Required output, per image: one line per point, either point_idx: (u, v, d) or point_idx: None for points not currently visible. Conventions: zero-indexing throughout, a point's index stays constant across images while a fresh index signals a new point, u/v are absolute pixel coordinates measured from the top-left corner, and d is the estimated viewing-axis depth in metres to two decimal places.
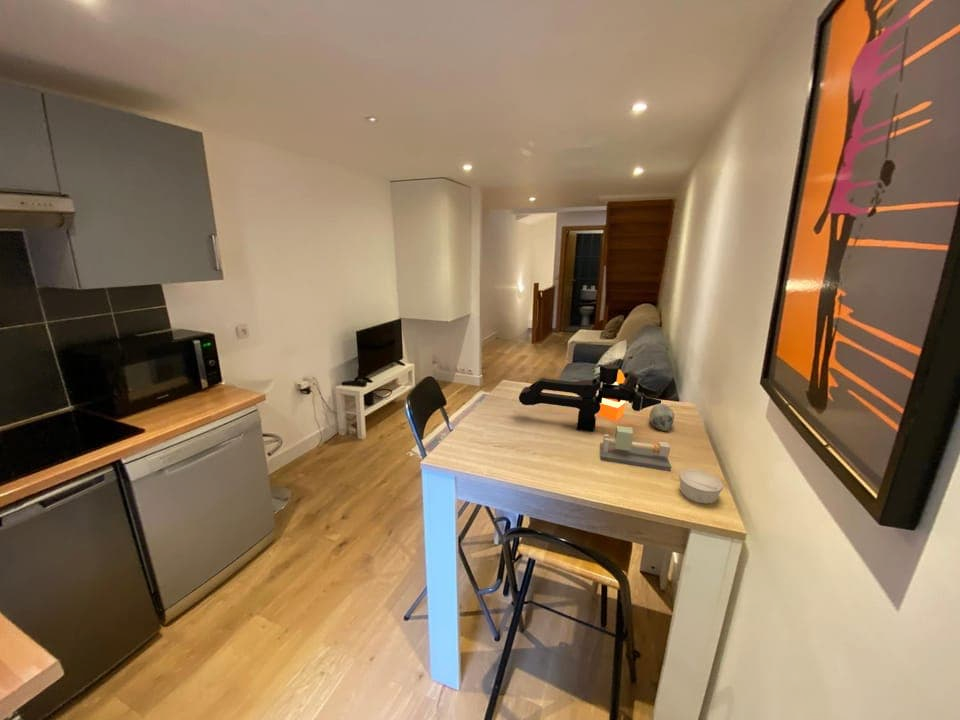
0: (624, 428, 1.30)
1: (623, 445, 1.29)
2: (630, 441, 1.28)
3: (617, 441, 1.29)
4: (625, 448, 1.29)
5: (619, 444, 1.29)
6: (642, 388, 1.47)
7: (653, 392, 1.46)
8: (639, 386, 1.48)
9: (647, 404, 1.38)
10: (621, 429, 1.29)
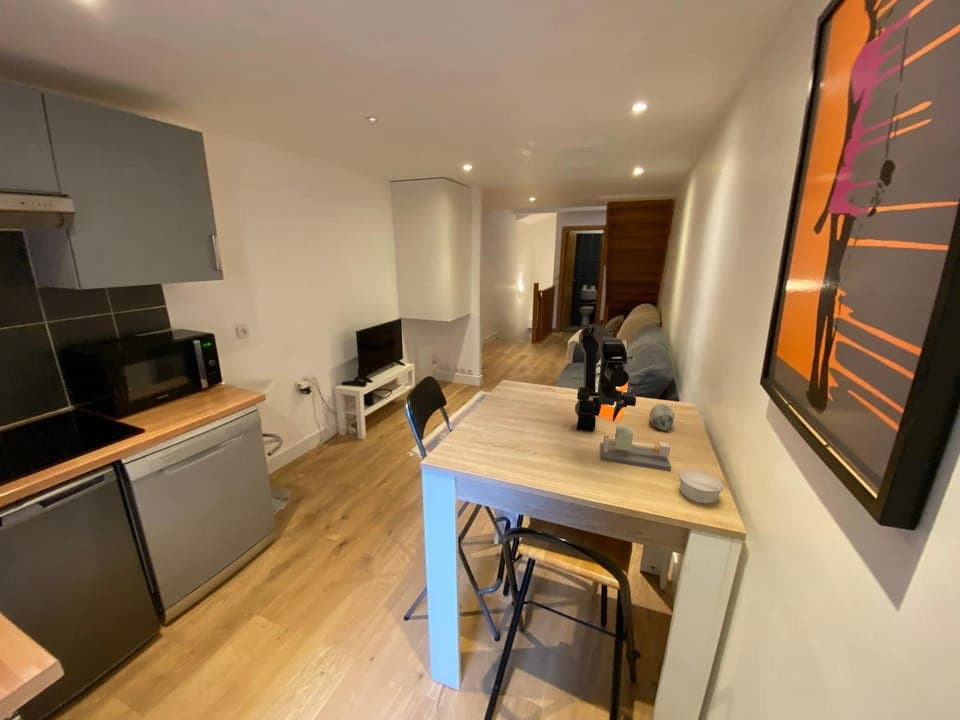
0: (624, 428, 1.30)
1: (623, 445, 1.29)
2: (630, 441, 1.28)
3: (617, 441, 1.29)
4: (625, 448, 1.29)
5: (619, 444, 1.29)
6: (616, 407, 1.27)
7: (613, 417, 1.29)
8: (617, 405, 1.26)
9: None
10: (621, 429, 1.29)
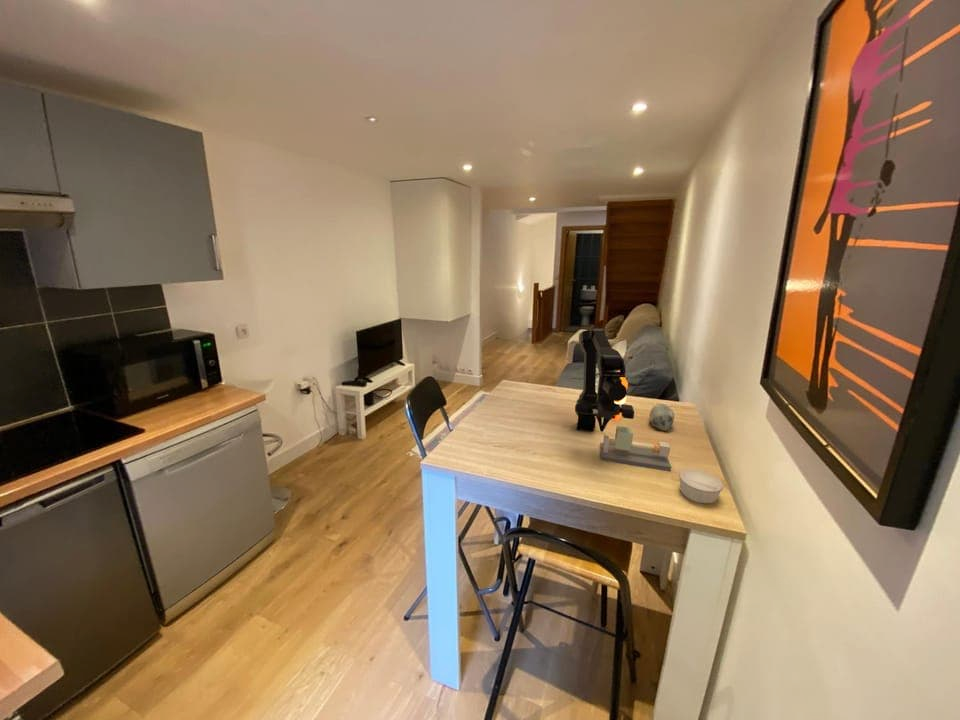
0: (624, 428, 1.30)
1: (623, 445, 1.29)
2: (630, 441, 1.28)
3: (617, 441, 1.29)
4: (625, 448, 1.29)
5: (619, 444, 1.29)
6: (605, 418, 1.29)
7: None
8: None
9: None
10: (621, 429, 1.29)
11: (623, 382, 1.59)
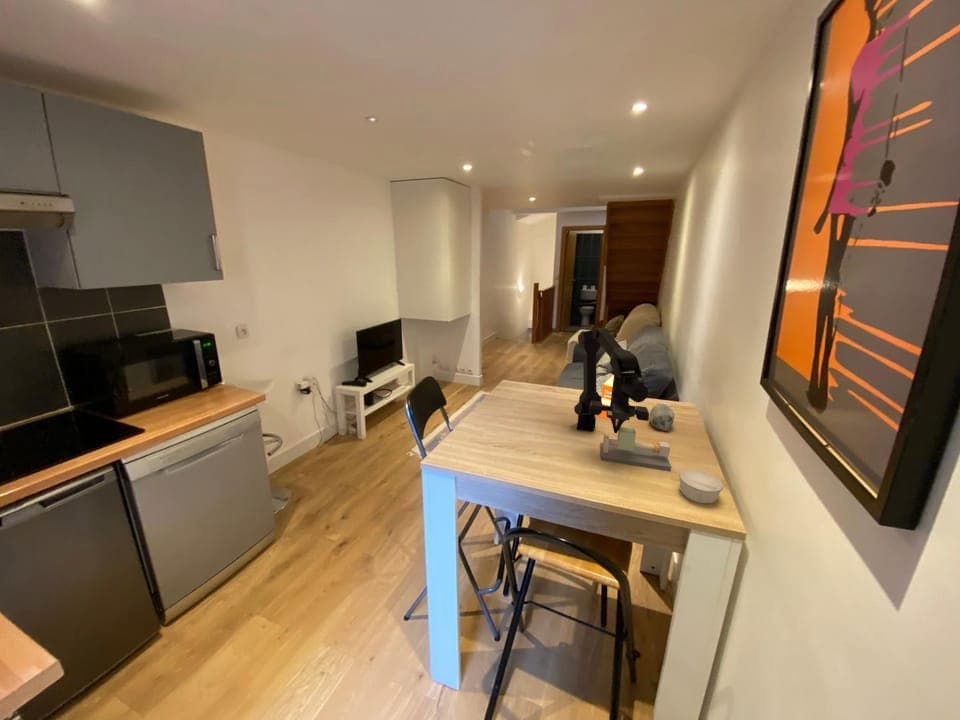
0: (627, 428, 1.30)
1: (626, 445, 1.28)
2: (633, 441, 1.27)
3: (620, 441, 1.29)
4: (627, 448, 1.29)
5: (622, 444, 1.29)
6: (619, 420, 1.28)
7: None
8: None
9: None
10: (624, 429, 1.29)
11: None
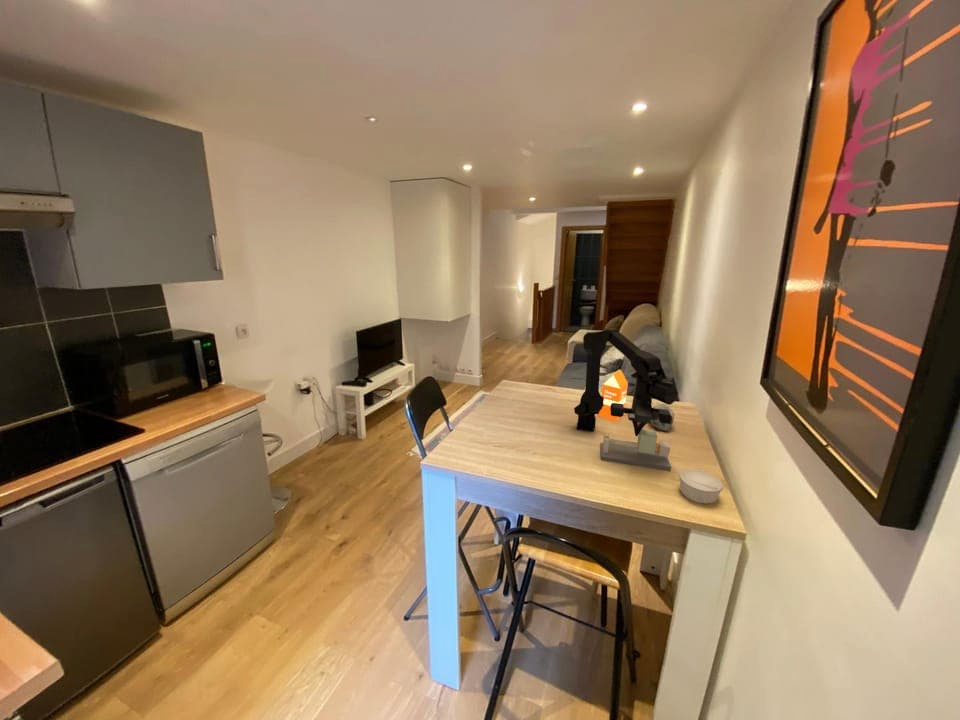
0: (647, 431, 1.28)
1: (647, 448, 1.27)
2: (654, 444, 1.26)
3: (640, 444, 1.27)
4: (648, 451, 1.27)
5: (642, 447, 1.27)
6: (640, 422, 1.26)
7: None
8: None
9: None
10: (645, 432, 1.28)
11: (623, 382, 1.59)
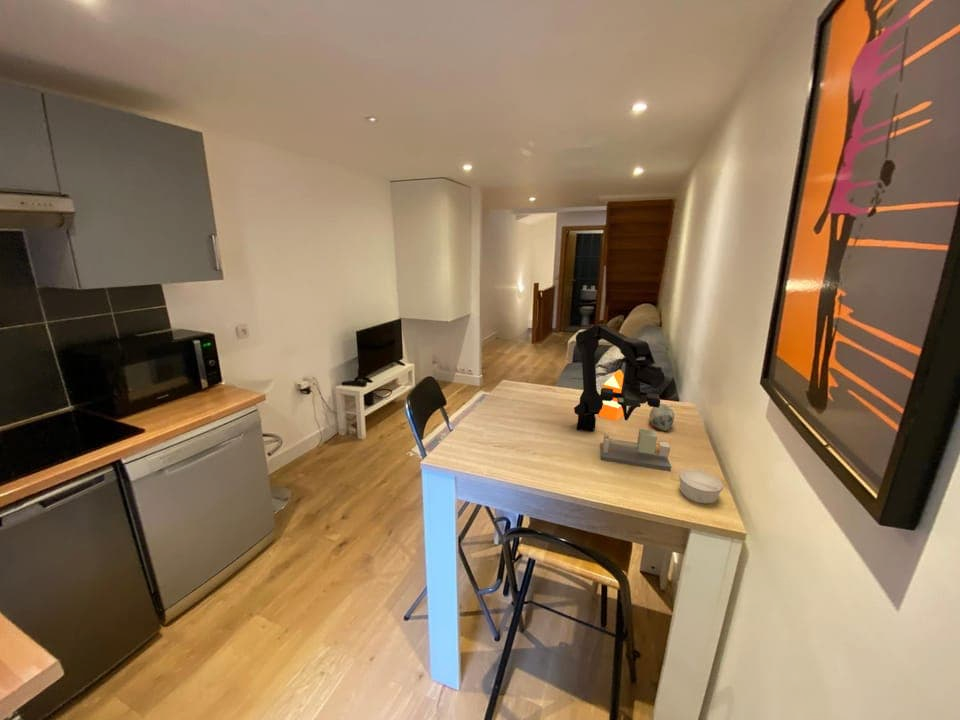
0: (647, 431, 1.28)
1: (646, 448, 1.27)
2: (654, 444, 1.26)
3: (640, 444, 1.27)
4: (648, 451, 1.27)
5: (642, 447, 1.27)
6: (629, 407, 1.29)
7: None
8: None
9: None
10: (645, 432, 1.28)
11: None
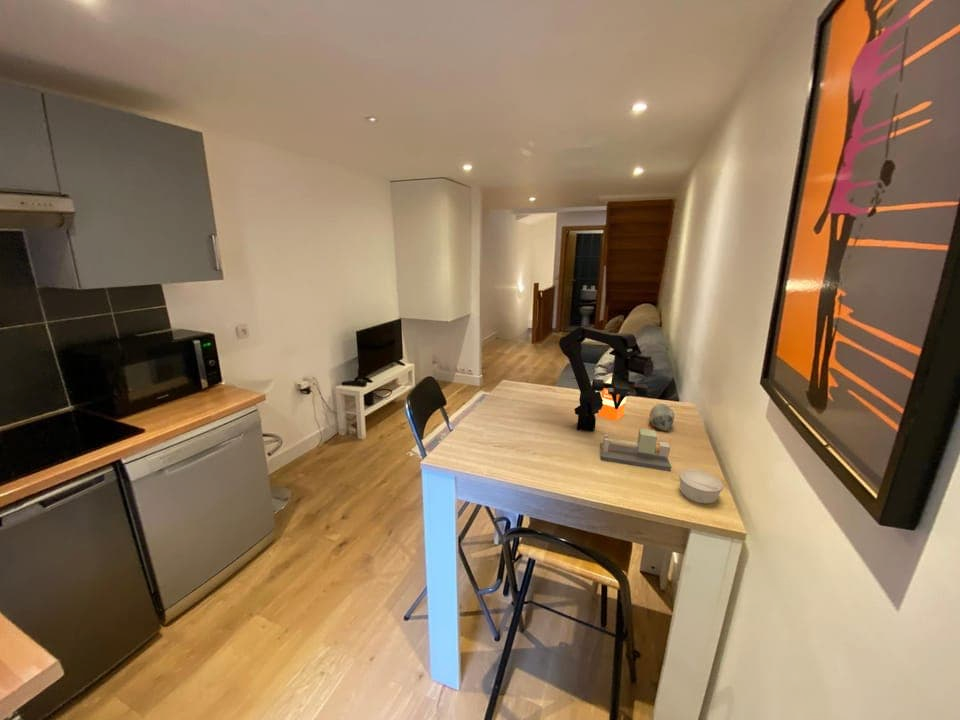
0: (647, 431, 1.28)
1: (646, 448, 1.27)
2: (654, 444, 1.26)
3: (640, 444, 1.27)
4: (648, 451, 1.27)
5: (642, 447, 1.27)
6: (619, 396, 1.37)
7: None
8: None
9: None
10: (645, 432, 1.28)
11: None
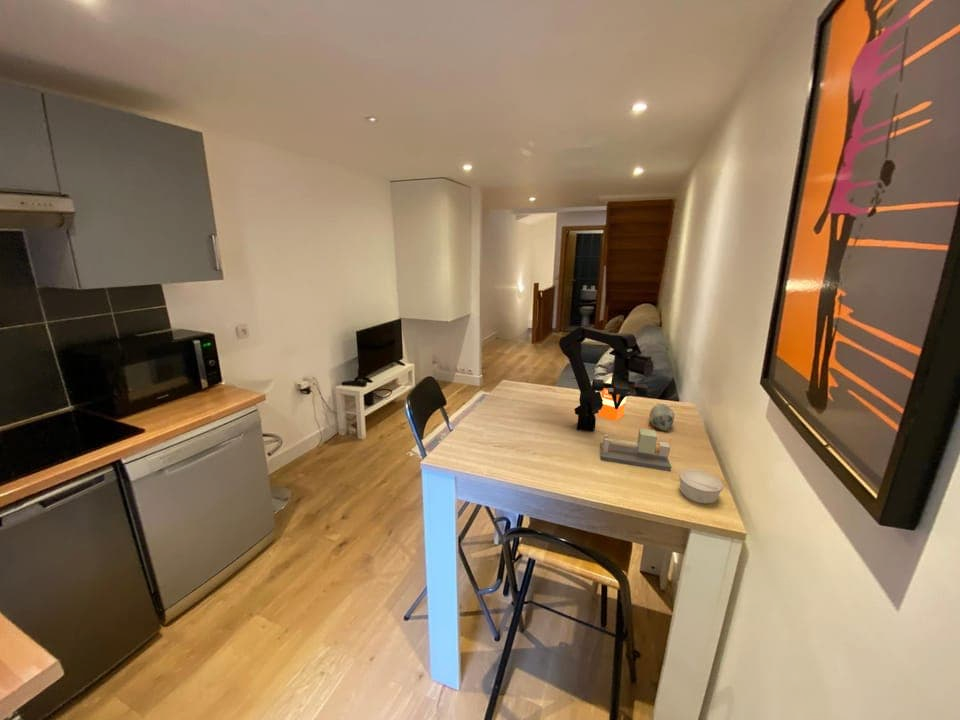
0: (647, 431, 1.28)
1: (646, 448, 1.27)
2: (654, 444, 1.26)
3: (640, 444, 1.27)
4: (648, 451, 1.27)
5: (642, 447, 1.27)
6: (619, 396, 1.37)
7: None
8: None
9: None
10: (645, 432, 1.28)
11: None
